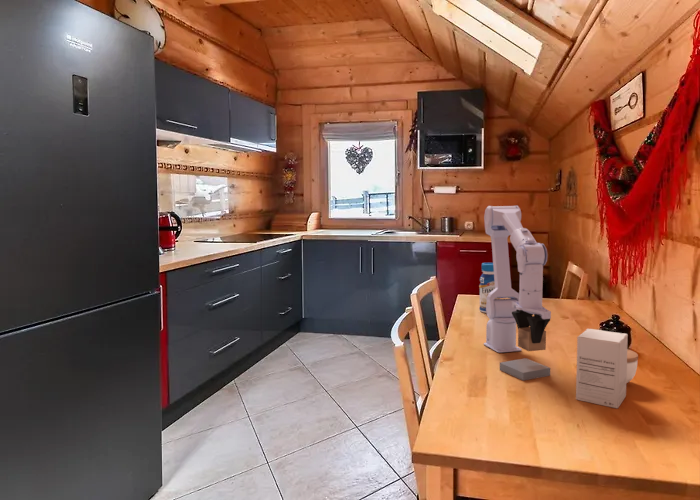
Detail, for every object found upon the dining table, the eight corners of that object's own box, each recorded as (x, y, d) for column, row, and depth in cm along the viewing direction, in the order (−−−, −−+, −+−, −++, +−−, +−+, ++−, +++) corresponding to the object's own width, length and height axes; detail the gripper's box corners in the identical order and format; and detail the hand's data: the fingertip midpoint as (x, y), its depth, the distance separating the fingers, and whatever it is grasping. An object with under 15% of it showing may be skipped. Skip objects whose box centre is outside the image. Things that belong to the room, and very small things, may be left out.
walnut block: (518, 346, 136) (518, 327, 135) (534, 344, 137) (534, 326, 136) (528, 351, 131) (529, 332, 130) (545, 349, 132) (546, 331, 132)
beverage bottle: (498, 309, 211) (499, 262, 209) (501, 313, 203) (502, 264, 201) (478, 309, 212) (478, 262, 210) (480, 313, 204) (480, 264, 202)
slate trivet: (499, 371, 136) (499, 362, 135) (525, 367, 139) (525, 358, 139) (522, 382, 127) (523, 372, 127) (550, 377, 131) (550, 367, 131)
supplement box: (585, 388, 122) (587, 327, 120) (626, 396, 116) (629, 333, 115) (574, 399, 115) (576, 335, 113) (617, 409, 109) (620, 342, 108)
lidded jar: (611, 392, 119) (612, 353, 118) (579, 377, 129) (580, 341, 128) (647, 387, 122) (649, 349, 121) (613, 373, 132) (614, 338, 131)
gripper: (502, 286, 138) (501, 334, 140) (533, 295, 124) (532, 348, 126) (525, 284, 140) (524, 332, 141) (558, 293, 126) (557, 346, 127)
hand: (529, 340), depth 134 cm, fingers closed on walnut block, 5 cm apart
